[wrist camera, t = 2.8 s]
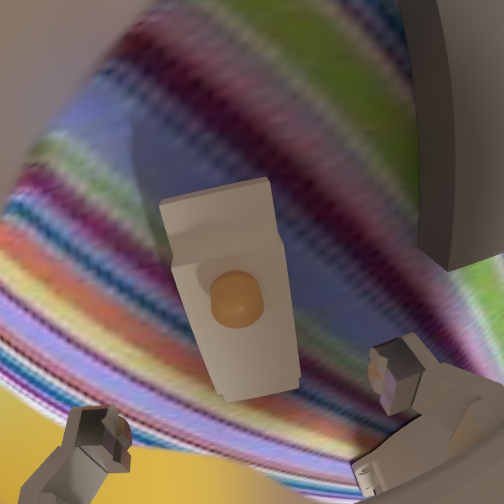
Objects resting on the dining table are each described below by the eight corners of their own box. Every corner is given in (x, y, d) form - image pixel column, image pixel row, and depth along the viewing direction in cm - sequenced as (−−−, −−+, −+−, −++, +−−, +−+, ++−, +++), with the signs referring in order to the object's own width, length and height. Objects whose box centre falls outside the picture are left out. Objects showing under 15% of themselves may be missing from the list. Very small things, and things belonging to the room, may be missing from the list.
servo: (284, 340, 20) (308, 416, 14) (221, 354, 20) (228, 433, 14) (254, 162, 15) (281, 197, 9) (170, 180, 15) (149, 226, 9)
